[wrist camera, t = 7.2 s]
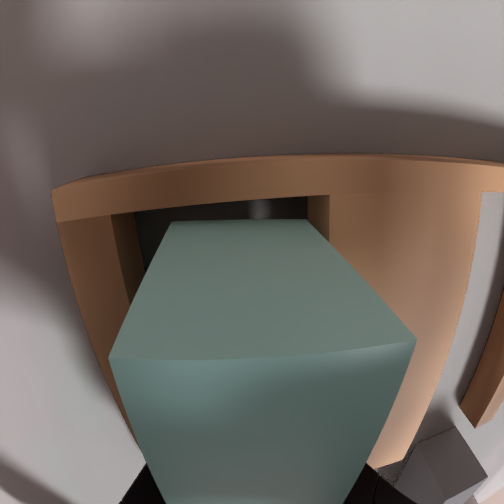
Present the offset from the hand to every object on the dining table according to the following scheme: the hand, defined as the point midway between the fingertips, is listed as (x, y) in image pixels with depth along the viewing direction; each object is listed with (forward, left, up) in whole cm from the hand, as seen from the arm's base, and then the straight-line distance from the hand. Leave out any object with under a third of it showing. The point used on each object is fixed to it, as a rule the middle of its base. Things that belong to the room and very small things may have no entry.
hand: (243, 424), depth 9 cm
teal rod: (0, 0, -1) cm, 1 cm away
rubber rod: (+12, -15, -3) cm, 19 cm away
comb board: (+5, 0, -3) cm, 6 cm away
